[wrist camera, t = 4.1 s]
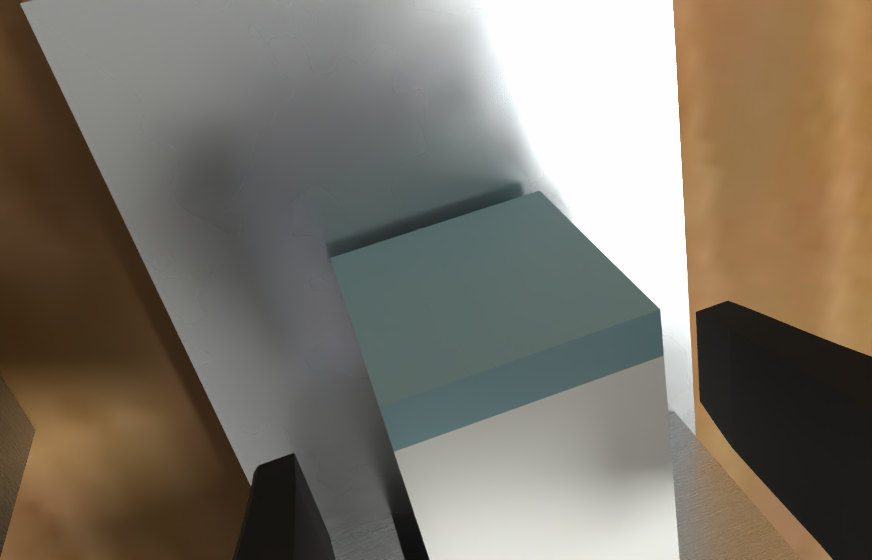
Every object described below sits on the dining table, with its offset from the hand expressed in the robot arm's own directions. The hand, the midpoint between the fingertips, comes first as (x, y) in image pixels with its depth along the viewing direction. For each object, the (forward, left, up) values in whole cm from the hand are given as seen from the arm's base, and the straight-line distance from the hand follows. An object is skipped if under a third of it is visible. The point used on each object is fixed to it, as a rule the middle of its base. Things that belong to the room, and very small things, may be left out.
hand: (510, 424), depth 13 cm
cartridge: (-4, 0, -3) cm, 5 cm away
